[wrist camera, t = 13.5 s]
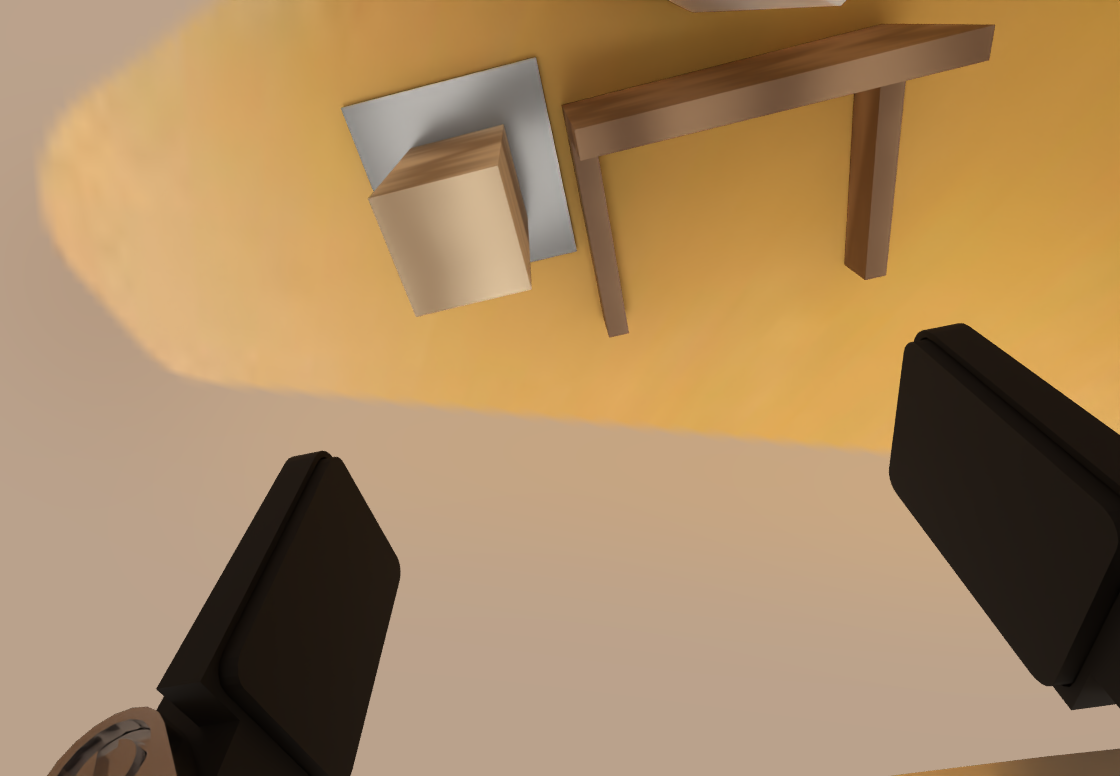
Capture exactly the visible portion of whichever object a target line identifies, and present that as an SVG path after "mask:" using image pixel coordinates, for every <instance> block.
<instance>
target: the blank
mask: <svg viewBox="0 0 1120 776" xmlns="http://www.w3.org/2000/svg"><path fill="white" fill-rule="evenodd" d="M368 200H369V202H370V205H371V207H372V210H373V212H374V215H375V217H376V220H377V222H378V225H379V227H380V230H381V232H382V234H383V237H384V239H385V242H386V244H387V247H388V249H389V252H390V254H391V257H392V259H393V262H394V264H395V266H396V269H397V271H398V274H399V276H400V279H401V281H402V284H403V286H404V289H405V291H406V294H407V296H408V298H409V301H410V303H411V306H412V308H413V311H414V313H415V316H416V317H418V316H422V315H426V314H430V313H434V312H439V311H443V310H447V309H451V308H455V307H460V306H464V305H468V304H472V303H476V302H481V301H485V300H489V299H493V298H497V297H502V296H506V295H510V294H514V293H518V292H523V291H527V290H531V289H532V288H531V268H530V248H529V229H528V217H527V213H526V209H525V205H524V202H523V198H522V194H521V190H520V186H519V182H518V178H517V174H516V171H515V167H514V163H513V159H512V155H511V151H510V147H509V143H508V140H507V136H506V132H505V128H504V124H502V125H498V126H495V127H491V128H487V129H483V130H479V131H475V132H471V133H468V134H464V135H460V136H456V137H452V138H448V139H444V140H441V141H437V142H433V143H429V144H425V145H421V146H417V147H414V148H410V149H409V151H408V152H407V153H406V154H405V155H404V157H403V158H402V159H401V160H400V161H399V162H398V164H397V165H396V166H395V167H394V168H393V170H392V171H391V172H390V173H389V174H388V176H387V177H386V178H385V179H384V180H383V181H382V183H381V184H380V185H379V186H378V187H377V189H376V190H375V191H374V192H373V193H372V194H371V196H370V197H369V198H368Z"/></svg>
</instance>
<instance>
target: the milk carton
mask: <svg viewBox="0 0 1120 776" xmlns="http://www.w3.org/2000/svg"><path fill="white" fill-rule="evenodd" d="M668 1H670V2H672V3H674V4H676V5H678V6H680V7H682V8H684V9H686V10H688V11H691V12H716V11H737V10H758V9H779V8H801V7H822V6H841V5H842V4H843V3H844V2H845V1H846V0H668Z"/></svg>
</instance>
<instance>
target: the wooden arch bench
mask: <svg viewBox="0 0 1120 776" xmlns="http://www.w3.org/2000/svg"><path fill="white" fill-rule="evenodd" d="M994 29H995V25H965V24H880V25H876V26H872V27H868V28H864V29H860V30H856V31H852V32H848V33H844V34H840V35H836V36H833V37H829V38H825V39H821V40H817V41H813V42H809V43H805V44H801V45H797V46H793V47H789V48H785V49H781V50H777V51H773V52H769V53H765V54H762V55H758V56H754V57H750V58H746V59H742V60H738V61H734V62H730V63H726V64H722V65H718V66H714V67H710V68H706V69H702V70H698V71H694V72H691V73H687V74H683V75H679V76H675V77H671V78H667V79H663V80H659V81H655V82H651V83H647V84H643V85H639V86H635V87H631V88H627V89H623V90H620V91H616V92H612V93H608V94H604V95H600V96H596V97H592V98H588V99H584V100H580V101H576V102H572V103H568V104H564V105H562V110H563V115H564V120H565V125H566V130H567V135H568V140H569V145H570V150H571V155H572V160H573V165H574V170H575V175H576V180H577V185H578V190H579V195H580V200H581V206H582V211H583V216H584V221H585V226H586V231H587V236H588V241H589V246H590V251H591V256H592V261H593V266H594V271H595V276H596V281H597V286H598V291H599V297H600V302H601V307H602V312H603V317H604V321H605V324H606V328H607V331H608V335H609V337H614V336H618V335H623V334H627V333H629V331H628V325H627V319H626V313H625V308H624V302H623V296H622V290H621V285H620V279H619V273H618V267H617V261H616V256H615V250H614V244H613V238H612V233H611V227H610V221H609V215H608V210H607V204H606V198H605V192H604V187H603V181H602V175H601V169H600V164H599V158H598V156H602V155H606V154H610V153H614V152H618V151H623V150H627V149H631V148H635V147H639V146H643V145H647V144H651V143H655V142H659V141H663V140H667V139H671V138H675V137H679V136H683V135H687V134H692V133H696V132H700V131H704V130H708V129H712V128H716V127H720V126H724V125H728V124H732V123H736V122H740V121H744V120H748V119H752V118H756V117H761V116H765V115H769V114H773V113H777V112H781V111H785V110H789V109H793V108H797V107H801V106H805V105H809V104H813V103H817V102H821V101H825V100H830V99H834V98H838V97H842V96H846V95H850V94H854V109H853V127H852V144H851V161H850V179H849V196H848V213H847V231H846V248H845V265H846V266H847V267H848V268H850V269H851V270H852V271H854V272H855V273H856V274H858V275H859V276H860V277H862V278H863V279H864V280H868V279H872V278H876V277H881V276H885V275H886V271H887V261H888V251H889V241H890V231H891V221H892V211H893V202H894V192H895V182H896V172H897V162H898V152H899V142H900V132H901V122H902V113H903V103H904V93H905V83H906V81H907V80H911V79H915V78H919V77H923V76H927V75H931V74H935V73H939V72H943V71H947V70H951V69H955V68H959V67H963V66H968V65H972V64H976V63H980V62H984V61H988V60H989V58H990V52H991V46H992V40H993V35H994Z"/></svg>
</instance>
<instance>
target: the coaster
mask: <svg viewBox="0 0 1120 776" xmlns="http://www.w3.org/2000/svg"><path fill="white" fill-rule="evenodd" d="M341 110H342V112H343V115H344V117H345V120H346V123H347V125H348V128H349V130H350V133H351V135H352V138H353V140H354V143H355V145H356V148H357V151H358V153H359V156H360V158H361V161H362V163H363V166H364V168H365V171H366V174H367V176H368V179H369V181H370V184H371V186H372V189H373V191H375V190H376V189H377V187H378V186H379V185H380V184H381V183H382V181H383V180H384V179H385V178H386V177H387V176H388V174H389V173H390V172H391V171H392V170H393V168H394V167H395V166H396V165H397V164H398V162H399V161H400V160H401V159H402V158H403V157H404V155H405V154H406V153H407V152H408V151H409V149H410V148H414V147H417V146H421V145H425V144H429V143H433V142H437V141H441V140H444V139H448V138H452V137H456V136H460V135H464V134H468V133H471V132H475V131H479V130H483V129H487V128H491V127H495V126H498V125H502V124H504V128H505V132H506V136H507V140H508V143H509V147H510V151H511V155H512V159H513V163H514V167H515V171H516V174H517V178H518V182H519V186H520V190H521V194H522V198H523V202H524V205H525V209H526V213H527V217H528V229H529V248H530V262H533V261H538V260H542V259H546V258H550V257H555V256H559V255H563V254H567V253H572V252H576V251H577V250H576V245H575V240H574V235H573V231H572V226H571V221H570V216H569V212H568V207H567V202H566V198H565V193H564V188H563V183H562V179H561V174H560V169H559V164H558V160H557V155H556V150H555V146H554V141H553V136H552V131H551V127H550V122H549V117H548V112H547V108H546V103H545V98H544V94H543V89H542V84H541V79H540V75H539V70H538V65H537V60H536V57H533V58H529V59H525V60H521V61H517V62H514V63H510V64H506V65H502V66H498V67H494V68H491V69H487V70H483V71H479V72H475V73H471V74H467V75H464V76H460V77H456V78H452V79H448V80H444V81H441V82H437V83H433V84H429V85H425V86H421V87H417V88H414V89H410V90H406V91H402V92H398V93H394V94H391V95H387V96H383V97H379V98H375V99H371V100H367V101H364V102H360V103H356V104H352V105H348V106H344V107H342V108H341Z"/></svg>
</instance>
